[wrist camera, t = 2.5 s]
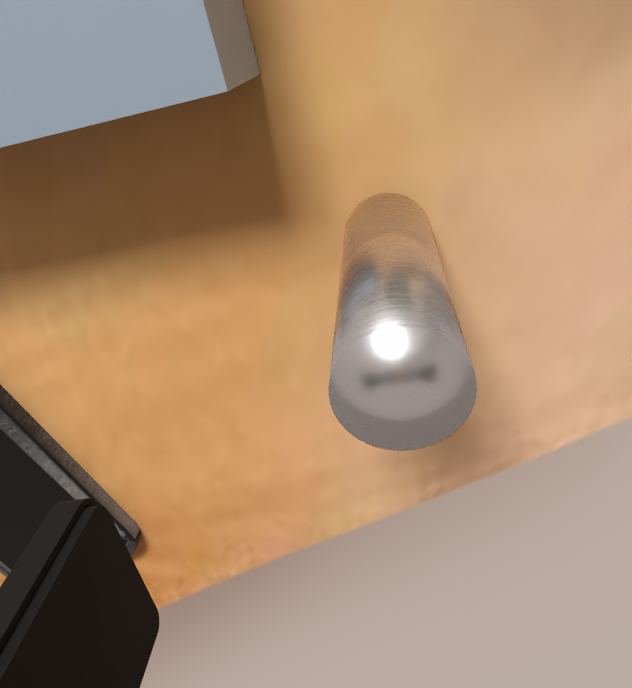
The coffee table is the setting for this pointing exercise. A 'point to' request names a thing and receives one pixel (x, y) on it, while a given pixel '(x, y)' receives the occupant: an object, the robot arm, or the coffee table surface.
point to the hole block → (114, 59)
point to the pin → (397, 332)
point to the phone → (41, 483)
